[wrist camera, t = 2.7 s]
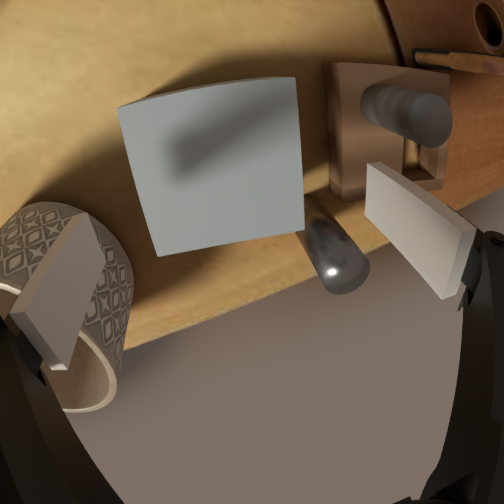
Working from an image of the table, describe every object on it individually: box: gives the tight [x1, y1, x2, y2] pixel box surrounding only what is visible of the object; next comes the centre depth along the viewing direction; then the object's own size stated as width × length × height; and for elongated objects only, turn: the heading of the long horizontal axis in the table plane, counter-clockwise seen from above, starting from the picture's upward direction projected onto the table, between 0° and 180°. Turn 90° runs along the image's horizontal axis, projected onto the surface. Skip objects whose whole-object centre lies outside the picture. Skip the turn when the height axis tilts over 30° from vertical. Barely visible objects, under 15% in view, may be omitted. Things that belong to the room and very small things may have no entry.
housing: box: [117, 77, 305, 257], centre depth 20 cm, size 10×10×8 cm
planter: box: [0, 202, 134, 412], centre depth 22 cm, size 16×16×13 cm
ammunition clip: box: [412, 49, 504, 75], centre depth 16 cm, size 11×2×12 cm, turn 105°
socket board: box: [323, 62, 452, 202], centre depth 21 cm, size 12×12×10 cm
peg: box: [295, 195, 370, 295], centre depth 25 cm, size 4×4×10 cm
